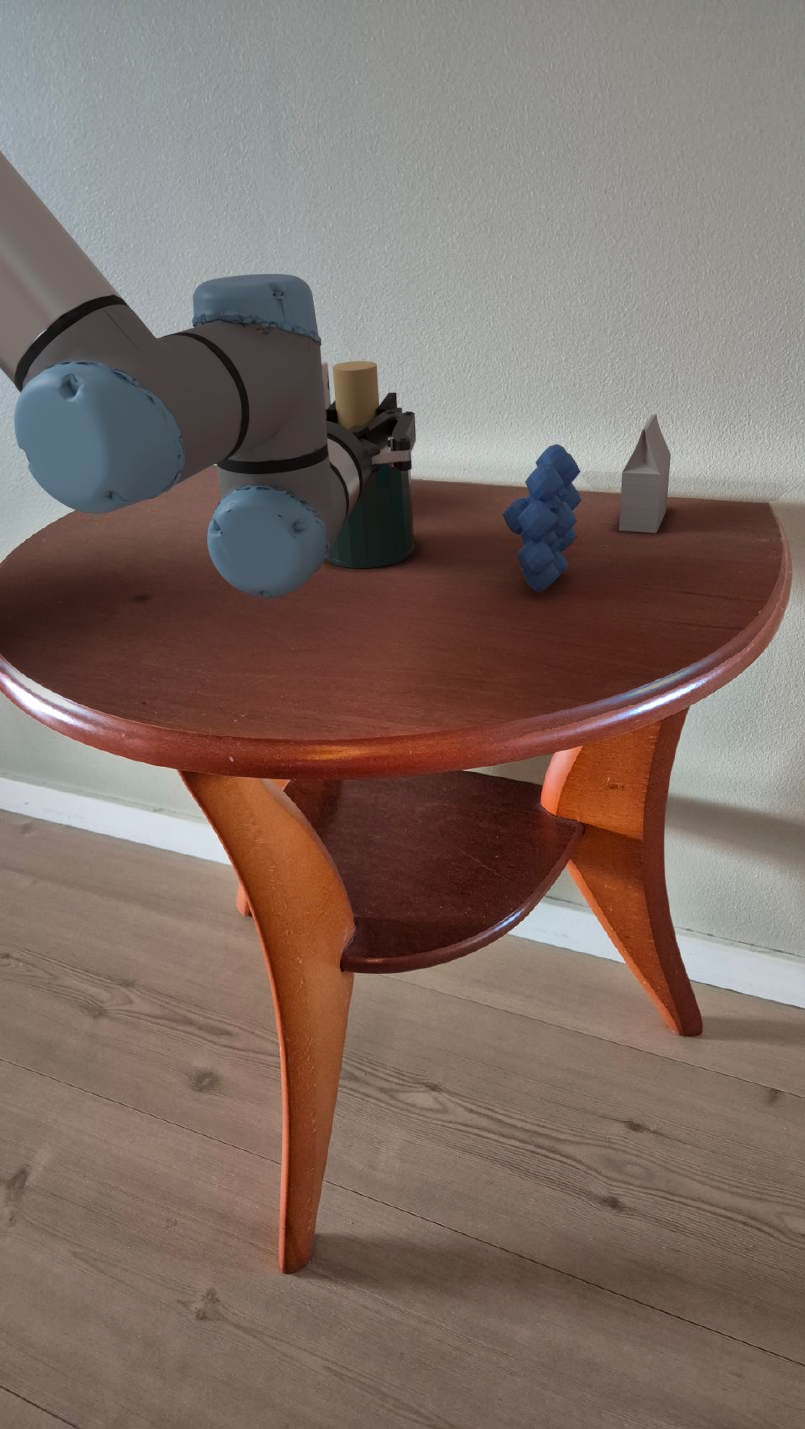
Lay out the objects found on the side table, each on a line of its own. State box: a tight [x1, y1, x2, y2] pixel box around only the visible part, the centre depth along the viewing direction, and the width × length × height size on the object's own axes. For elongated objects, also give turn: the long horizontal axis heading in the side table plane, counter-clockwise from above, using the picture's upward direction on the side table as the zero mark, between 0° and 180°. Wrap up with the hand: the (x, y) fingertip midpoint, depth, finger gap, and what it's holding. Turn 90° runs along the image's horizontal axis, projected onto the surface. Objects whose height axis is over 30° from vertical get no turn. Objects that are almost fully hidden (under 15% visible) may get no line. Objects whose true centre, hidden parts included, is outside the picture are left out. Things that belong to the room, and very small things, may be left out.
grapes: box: [502, 443, 582, 593], centre depth 86 cm, size 12×7×12 cm, turn 157°
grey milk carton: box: [618, 413, 672, 534], centre depth 99 cm, size 4×7×10 cm, turn 159°
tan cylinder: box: [332, 360, 380, 430], centre depth 92 cm, size 4×4×12 cm
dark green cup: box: [325, 463, 415, 569], centre depth 96 cm, size 9×9×10 cm
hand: (369, 407), depth 96 cm, fingers closed on tan cylinder, 4 cm apart
